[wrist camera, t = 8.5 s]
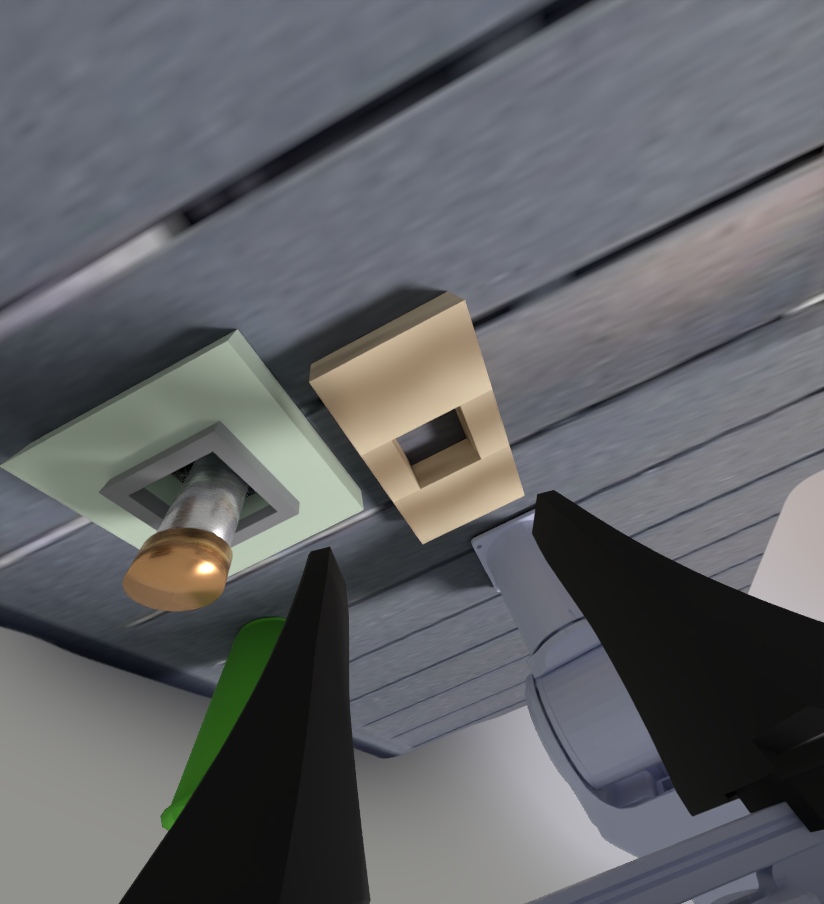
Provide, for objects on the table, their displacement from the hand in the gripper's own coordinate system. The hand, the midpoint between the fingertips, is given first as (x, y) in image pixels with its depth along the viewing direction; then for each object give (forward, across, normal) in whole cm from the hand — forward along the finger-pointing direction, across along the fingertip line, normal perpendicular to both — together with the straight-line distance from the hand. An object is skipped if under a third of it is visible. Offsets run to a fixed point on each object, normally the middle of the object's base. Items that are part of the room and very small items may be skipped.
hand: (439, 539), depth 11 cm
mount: (+10, -2, +2) cm, 11 cm away
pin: (+10, +10, +2) cm, 15 cm away
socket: (+10, +10, +2) cm, 15 cm away
